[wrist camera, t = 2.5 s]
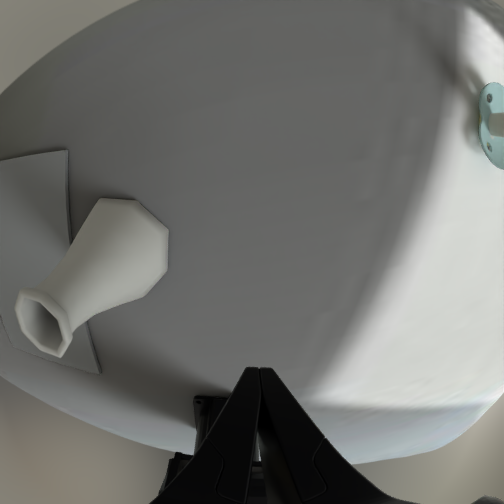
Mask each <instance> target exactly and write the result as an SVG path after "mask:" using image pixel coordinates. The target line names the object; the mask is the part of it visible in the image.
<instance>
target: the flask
mask: <svg viewBox="0 0 504 504" xmlns="http://www.w3.org/2000/svg"><path fill="white" fill-rule="evenodd" d="M168 235H169V230H168V229H167V228H166V227H165V226H164V225H163V224H162V223H161V222H160V221H158V220H157V219H156V218H155V217H154V216H153V215H152V214H151V213H150V212H149V211H148V210H147V209H145V208H144V207H143V206H142V205H141V204H140V203H139V202H138V201H135V200H123V199H109V198H100V199H99V200H98V201H97V203H96V204H95V206H94V207H93V209H92V211H91V212H90V214H89V215H88V217H87V219H86V220H85V222H84V224H83V225H82V227H81V229H80V230H79V232H78V234H77V236H76V237H75V239H74V241H73V243H72V244H71V246H70V248H69V249H68V251H67V253H66V255H65V256H64V258H63V259H62V260H61V261H60V262H59V264H58V265H57V266H56V267H55V269H54V270H53V271H52V272H51V274H50V275H49V276H48V277H47V278H46V279H45V280H43V281H42V282H41V283H40V284H39V285H37V286H36V287H35V288H33V289H32V288H29V287H24V288H22V289H21V290H20V291H19V294H18V297H17V300H16V304H15V307H14V309H15V313H16V316H17V319H18V323H19V326H20V329H21V332H22V333H23V334H24V335H25V336H26V337H27V338H28V339H29V340H30V341H31V342H32V343H33V344H34V345H35V346H36V347H37V348H38V349H39V350H41V351H43V352H46V353H48V354H51V355H54V356H56V357H59V358H61V357H62V356H63V354H64V353H65V351H66V349H67V348H68V346H69V344H70V343H71V341H72V338H73V336H72V333H73V332H74V330H75V329H76V328H77V327H78V326H80V325H81V324H83V323H84V322H85V321H87V320H88V319H89V318H91V317H92V316H94V315H95V314H97V313H100V312H103V311H105V310H108V309H110V308H113V307H115V306H118V305H120V304H123V303H127V302H130V301H133V300H136V299H139V298H142V297H144V296H146V294H147V293H148V292H149V291H150V290H151V289H152V288H153V286H154V285H155V284H156V283H157V282H158V281H159V280H160V278H161V277H162V276H163V275H164V274H165V273H166V272H167V268H168Z"/></svg>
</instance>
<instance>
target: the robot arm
mask: <svg viewBox="0 0 504 504" xmlns="http://www.w3.org/2000/svg"><path fill="white" fill-rule="evenodd" d="M193 403H194V413H195V422H196V430H197V435H196V442H195V449H194V455H187V454H182V453H181V452H176V453H175V457H174V458H172V459H169V464H168V469H167V473H166V476H165V479H164V481H163V483H162V486H161V488H160V490H159V495H158V496H157V497H156V498H155V499H154V500H153V501H152V502H150V503H149V504H418V503H413V502H409V501H404V500H400V499H396V498H394V497H391V496H389V495H387V494H386V493H384V492H383V491H381V490H380V489H378V488H377V487H376V486H375V485H374V484H373V483H371V482H370V481H369V480H368V479H366V477H364V476H363V475H362V474H361V473H360V472H358V471H357V470H356V469H355V468H354V467H353V466H352V465H351V464H350V463H349V462H348V461H347V460H346V459H344V458H343V457H342V455H341V454H340V453H339V452H338V451H337V450H336V449H335V448H334V447H333V445H332V444H331V443H330V442H329V440H328V439H327V438H325V436H324V434H323V433H322V432H321V431H320V429H319V428H318V427H317V426H316V424H315V423H314V422H313V421H312V419H311V418H310V417H309V416H308V414H307V413H306V412H305V411H304V409H303V408H302V407H301V405H300V404H299V403H298V402H297V400H296V399H295V398H294V396H293V395H292V394H291V392H290V391H289V390H288V388H287V387H286V386H285V384H284V383H283V382H282V380H281V379H280V378H279V376H278V375H277V374H276V372H275V371H274V370H273V369H272V368H266V367H261V368H260V369H259V368H258V367H246V368H245V370H244V372H243V374H242V375H241V377H240V379H239V381H238V382H237V384H236V386H235V388H234V390H233V391H232V393H231V395H230V397H229V398H217V397H206V396H195V397H194V401H193ZM258 443H259V444H258ZM259 450H260V457H261V461H259ZM472 504H504V502H503V501H502V500H501V499H498V498H496V497H491V496H486V495H485V496H483V497H481V498H480V499H478V500H476V501H475V502H473V503H472Z"/></svg>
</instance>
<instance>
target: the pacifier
mask: <svg viewBox="0 0 504 504" xmlns="http://www.w3.org/2000/svg"><path fill="white" fill-rule="evenodd" d="M488 93H489V95H490V102H489V103H488V101H487V95H488ZM479 110H480V117H479V139H480V142H481V146H482V148H483V150H484V152H485V154H486V156H487V157H488V159H489V160H490V161H491V162H492V163H493V164H494V165H495V166H496V167H497V168H499V169H503V170H504V87H503V86H502V85H501V84H499V83H495V82H493V83H489V84H487V85H486V86H485V87H484V88H483V89H482V91H481V94H480V98H479ZM487 146H488V148H489V150H488V148H487Z"/></svg>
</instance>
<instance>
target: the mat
mask: <svg viewBox="0 0 504 504" xmlns="http://www.w3.org/2000/svg"><path fill="white" fill-rule="evenodd" d="M71 244H72V235H71V225H70V213H69V195H68V150H62V151H54V152H47V153H41V154H35V155H29V156H23V157H18V158H12V159H7V160H3V161H0V315H1V318H2V321H3V324H4V326H5V329H6V332H7V334H8V337H9V339H10V342H11V344H12V346H13V347H14V348H17V349H19V350H22V351H25V352H27V353H30V354H32V355H35V356H38V357H41V358H44V359H47V360H50V361H53V362H56V363H59V364H62V365H65V366H68V367H72V368H75V369H79V370H82V371H86V372H90V373H94V374H97V375H101V373H102V372H101V369H100V366H99V363H98V360H97V357H96V353H95V350H94V347H93V343H92V340H91V336H90V332H89V329H88V325H87V321H85V322H84V323H83V324H81V325H80V326H78V327H77V328H76V329H75V330H74V332H73V333H72V336H73V338H72V341H71V343H70V344H69V346H68V348H67V349H66V351H65V353H64V354H63V356H62V357H61V358H59V357H56V356H54V355H51V354H48V353H46V352H43V351H41V350H39V349H38V348H37V347H36V346H35V345H34V344H33V343H32V342H31V341H30V340H29V339H28V338H27V337H26V336H25V335H24V334H23V333H22V332H21V329H20V326H19V323H18V319H17V316H16V313H15V309H14V307H15V304H16V300H17V297H18V294H19V291H20V290H21V289H22V288H24V287H29V288H32V289H33V288H35V287H36V286H37V285H39V284H40V283H41V282H42V281H43V280H45V279H46V278H47V277H48V276H49V275H50V274H51V272H52V271H53V270H54V269H55V267H56V266H57V265H58V264H59V262H60V261H61V260H62V259H63V258H64V256H65V255H66V253H67V251H68V249H69V248H70V246H71Z"/></svg>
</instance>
